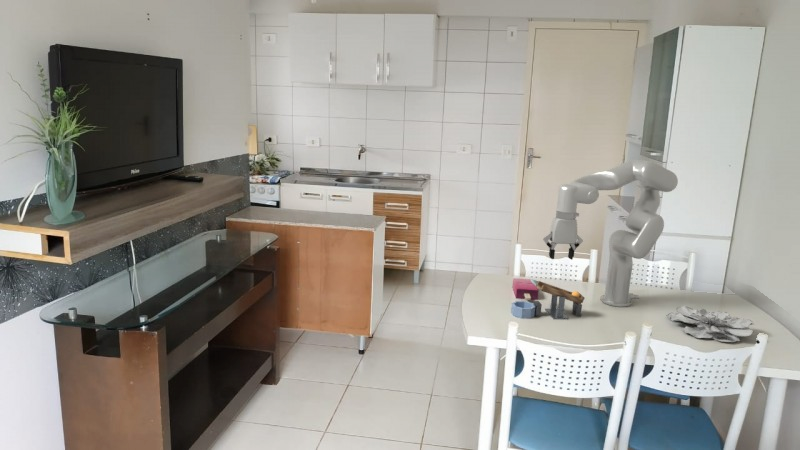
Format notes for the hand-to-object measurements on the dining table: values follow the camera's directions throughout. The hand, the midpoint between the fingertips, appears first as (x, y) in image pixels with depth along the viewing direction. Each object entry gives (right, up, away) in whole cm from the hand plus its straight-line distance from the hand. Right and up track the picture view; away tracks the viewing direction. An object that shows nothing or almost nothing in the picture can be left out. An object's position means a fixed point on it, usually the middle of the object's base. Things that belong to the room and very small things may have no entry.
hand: (561, 258), depth 234 cm
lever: (-2, -14, 0) cm, 14 cm away
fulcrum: (-2, -23, -2) cm, 23 cm away
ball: (+5, -15, -3) cm, 16 cm away
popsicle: (-10, -18, +19) cm, 28 cm away
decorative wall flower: (+55, -28, -8) cm, 63 cm away
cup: (-16, -22, -3) cm, 28 cm away
